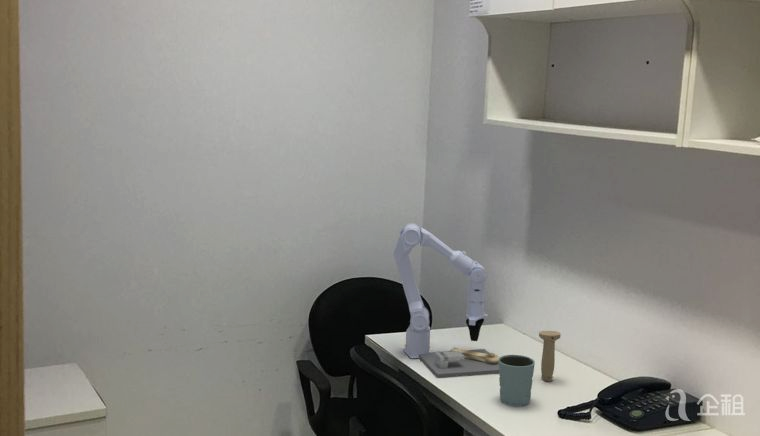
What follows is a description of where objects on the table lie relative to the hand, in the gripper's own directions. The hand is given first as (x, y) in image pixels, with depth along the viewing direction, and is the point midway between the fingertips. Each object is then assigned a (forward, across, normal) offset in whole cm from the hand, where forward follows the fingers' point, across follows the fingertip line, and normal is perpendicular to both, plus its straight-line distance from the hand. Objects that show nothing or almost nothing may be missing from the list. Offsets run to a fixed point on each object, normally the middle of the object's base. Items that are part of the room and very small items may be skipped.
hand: (474, 340), depth 250 cm
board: (+6, -9, +2) cm, 11 cm away
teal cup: (+6, -34, -16) cm, 38 cm away
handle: (+6, -14, -25) cm, 29 cm away
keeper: (+5, -14, +6) cm, 16 cm away
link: (+4, -5, -1) cm, 7 cm away
